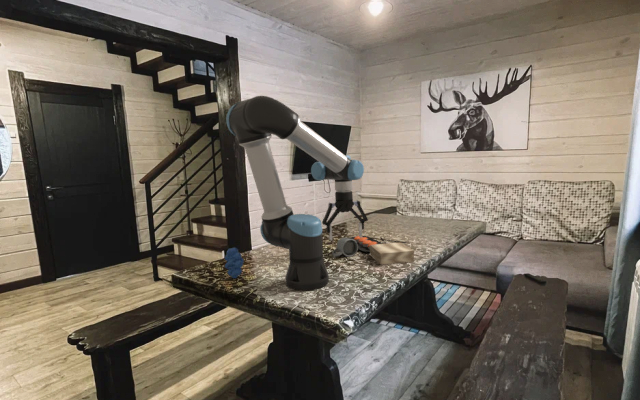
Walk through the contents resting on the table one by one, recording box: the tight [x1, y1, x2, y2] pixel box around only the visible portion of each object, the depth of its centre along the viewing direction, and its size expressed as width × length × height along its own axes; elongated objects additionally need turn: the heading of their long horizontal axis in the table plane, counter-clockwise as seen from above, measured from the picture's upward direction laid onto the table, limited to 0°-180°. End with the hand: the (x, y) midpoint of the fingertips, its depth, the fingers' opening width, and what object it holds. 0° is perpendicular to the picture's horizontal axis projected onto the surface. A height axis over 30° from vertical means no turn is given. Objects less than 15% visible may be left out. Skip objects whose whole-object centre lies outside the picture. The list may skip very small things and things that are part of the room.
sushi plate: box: [347, 235, 409, 253], centre depth 165 cm, size 29×30×4 cm
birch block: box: [369, 241, 415, 266], centre depth 140 cm, size 14×14×5 cm
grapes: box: [224, 247, 245, 279], centre depth 123 cm, size 12×7×12 cm, turn 41°
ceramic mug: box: [331, 237, 359, 258], centre depth 148 cm, size 11×8×8 cm
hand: (345, 238), depth 147 cm, fingers open, 13 cm apart
